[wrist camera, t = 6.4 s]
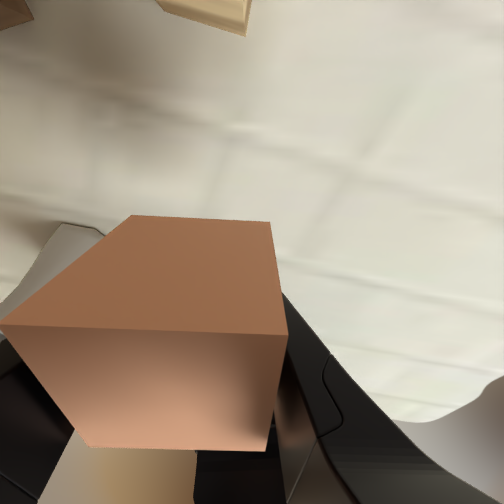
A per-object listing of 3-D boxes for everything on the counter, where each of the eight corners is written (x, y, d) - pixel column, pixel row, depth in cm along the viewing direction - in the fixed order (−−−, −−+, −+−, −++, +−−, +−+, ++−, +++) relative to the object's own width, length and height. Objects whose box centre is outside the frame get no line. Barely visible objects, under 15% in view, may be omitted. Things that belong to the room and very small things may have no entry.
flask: (45, 266, 23) (-77, 353, 15) (54, 208, 20) (-94, 277, 12) (116, 294, 25) (45, 386, 17) (135, 245, 22) (59, 328, 13)
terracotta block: (260, 318, 11) (265, 451, 7) (154, 314, 11) (88, 447, 6) (269, 221, 8) (288, 335, 4) (131, 215, 8) (-4, 324, 4)
